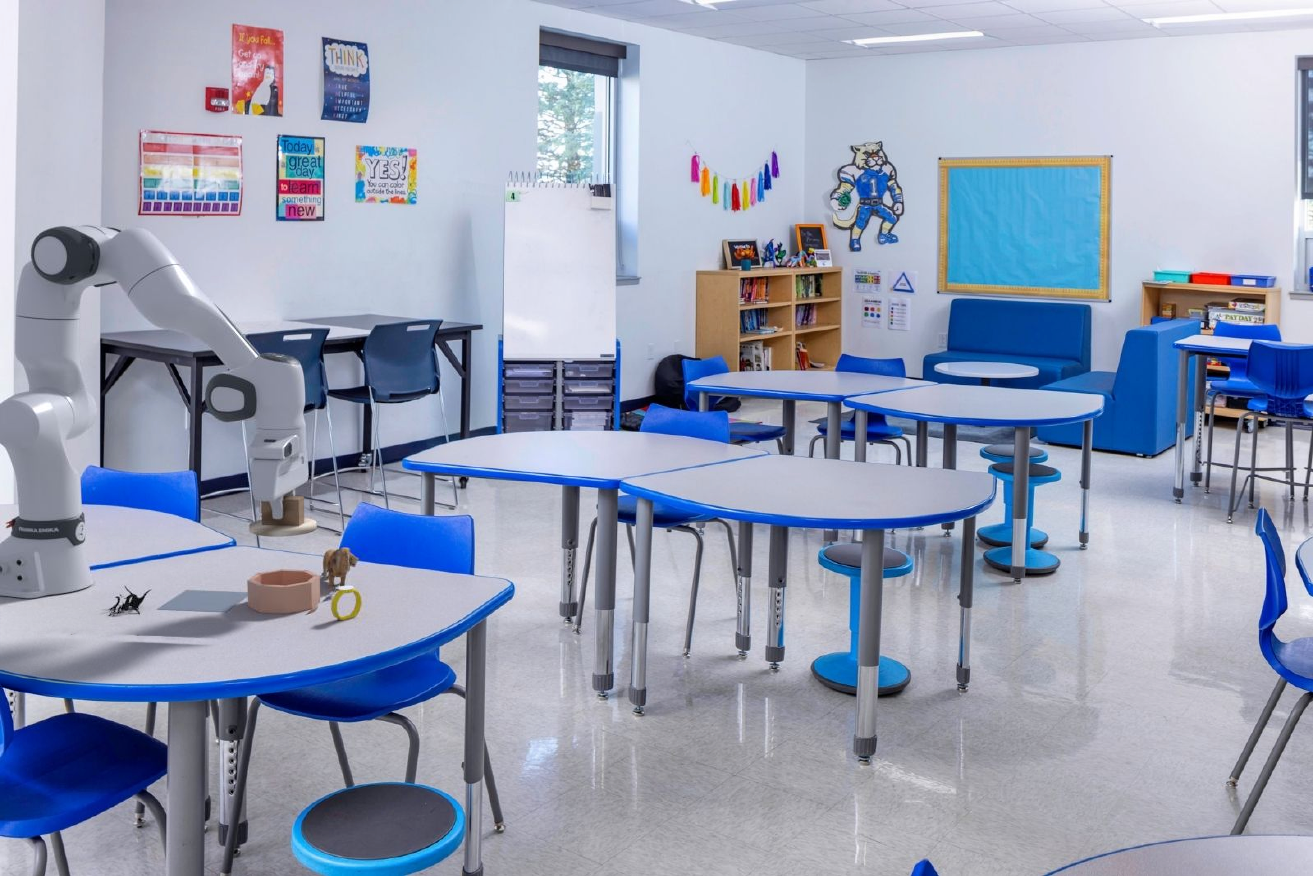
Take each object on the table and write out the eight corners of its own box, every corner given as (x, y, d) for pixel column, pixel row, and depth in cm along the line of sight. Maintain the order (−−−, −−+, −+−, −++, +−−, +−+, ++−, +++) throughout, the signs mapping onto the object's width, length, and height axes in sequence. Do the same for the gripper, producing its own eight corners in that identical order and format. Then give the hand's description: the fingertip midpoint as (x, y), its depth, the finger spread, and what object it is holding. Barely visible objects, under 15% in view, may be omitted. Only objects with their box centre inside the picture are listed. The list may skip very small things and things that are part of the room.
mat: (156, 614, 227) (156, 609, 227) (186, 594, 240) (186, 589, 240) (226, 617, 227) (226, 612, 227) (252, 597, 240) (252, 592, 240)
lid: (239, 535, 225) (238, 503, 224) (263, 521, 237) (262, 490, 236) (304, 537, 224) (304, 505, 223) (325, 523, 236) (324, 492, 235)
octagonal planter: (240, 617, 227) (240, 585, 226) (264, 598, 239) (263, 568, 238) (305, 619, 227) (305, 587, 226) (325, 601, 239) (325, 570, 238)
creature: (129, 631, 222) (160, 609, 228) (123, 604, 220) (154, 583, 227) (94, 625, 224) (126, 604, 231) (88, 598, 222) (120, 578, 229)
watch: (339, 624, 225) (336, 593, 224) (329, 621, 227) (327, 590, 226) (365, 615, 230) (363, 584, 229) (355, 612, 232) (353, 582, 230)
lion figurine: (361, 592, 245) (360, 548, 244) (335, 596, 242) (334, 551, 241) (334, 575, 257) (333, 533, 256) (309, 578, 254) (308, 536, 253)
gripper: (283, 433, 238) (285, 503, 241) (243, 450, 218) (245, 527, 220) (316, 434, 238) (317, 504, 240) (279, 451, 218) (280, 528, 220)
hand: (282, 515), depth 230 cm, fingers closed on lid, 3 cm apart
